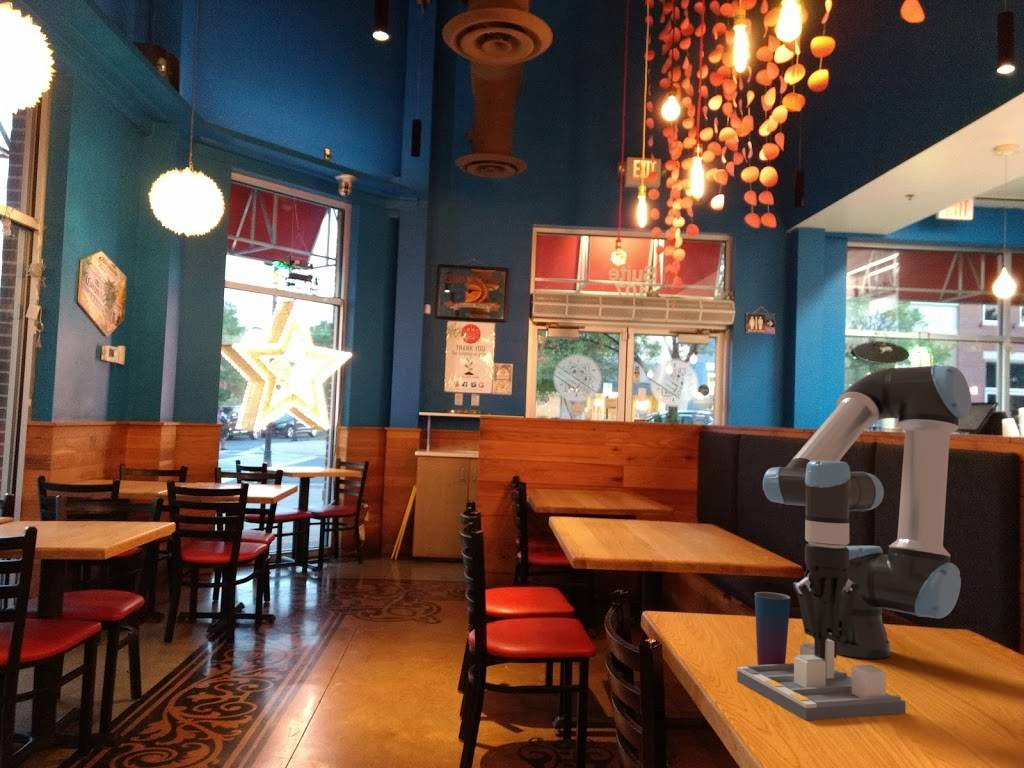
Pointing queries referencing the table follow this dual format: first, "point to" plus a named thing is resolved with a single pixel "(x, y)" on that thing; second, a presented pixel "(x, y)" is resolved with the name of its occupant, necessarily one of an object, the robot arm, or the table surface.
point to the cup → (771, 627)
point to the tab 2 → (868, 681)
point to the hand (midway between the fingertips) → (825, 675)
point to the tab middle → (809, 671)
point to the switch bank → (815, 694)
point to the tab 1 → (807, 649)
